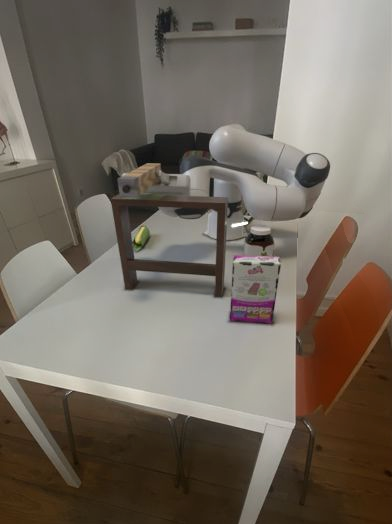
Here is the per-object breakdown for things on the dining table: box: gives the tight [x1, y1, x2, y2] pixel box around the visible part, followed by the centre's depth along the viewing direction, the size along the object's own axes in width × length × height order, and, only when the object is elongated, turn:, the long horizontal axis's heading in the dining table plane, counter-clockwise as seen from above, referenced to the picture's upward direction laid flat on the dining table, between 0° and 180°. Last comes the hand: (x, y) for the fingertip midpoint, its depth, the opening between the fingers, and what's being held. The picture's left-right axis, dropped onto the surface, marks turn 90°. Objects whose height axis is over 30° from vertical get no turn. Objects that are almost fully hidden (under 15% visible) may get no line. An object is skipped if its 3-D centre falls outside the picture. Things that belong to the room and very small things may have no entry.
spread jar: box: [243, 224, 276, 256], centre depth 113 cm, size 12×11×12 cm
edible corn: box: [132, 225, 151, 252], centre depth 129 cm, size 5×20×5 cm, turn 178°
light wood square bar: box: [117, 162, 162, 198], centre depth 81 cm, size 23×4×4 cm, turn 169°
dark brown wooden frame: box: [110, 193, 228, 298], centre depth 90 cm, size 6×30×26 cm, turn 79°
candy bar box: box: [229, 254, 282, 325], centre depth 80 cm, size 11×5×16 cm, turn 82°
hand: (148, 173), depth 85 cm, fingers closed on light wood square bar, 4 cm apart
